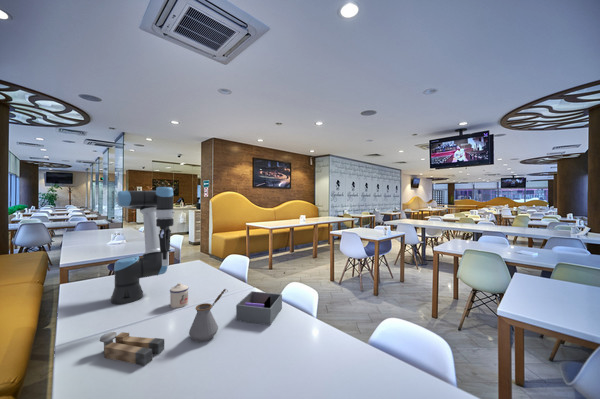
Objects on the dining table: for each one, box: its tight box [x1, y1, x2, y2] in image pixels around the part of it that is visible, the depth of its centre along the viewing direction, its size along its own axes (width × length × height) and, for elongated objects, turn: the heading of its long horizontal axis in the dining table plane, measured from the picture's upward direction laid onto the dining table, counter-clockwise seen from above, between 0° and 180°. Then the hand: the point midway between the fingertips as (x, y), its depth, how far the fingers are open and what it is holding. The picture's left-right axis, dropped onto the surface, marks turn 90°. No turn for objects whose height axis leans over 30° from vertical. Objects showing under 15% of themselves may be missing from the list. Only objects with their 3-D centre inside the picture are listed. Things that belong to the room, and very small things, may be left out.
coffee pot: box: [188, 288, 228, 343], centre depth 110 cm, size 21×12×15 cm, turn 161°
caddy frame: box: [235, 290, 283, 326], centre depth 125 cm, size 17×17×8 cm
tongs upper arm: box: [99, 331, 165, 355], centre depth 95 cm, size 23×6×6 cm, turn 83°
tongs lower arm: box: [103, 339, 153, 367], centre depth 92 cm, size 22×5×4 cm, turn 76°
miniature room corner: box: [245, 297, 270, 308], centre depth 127 cm, size 12×12×7 cm
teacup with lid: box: [169, 282, 189, 309], centre depth 137 cm, size 12×9×12 cm
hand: (165, 265), depth 124 cm, fingers closed
